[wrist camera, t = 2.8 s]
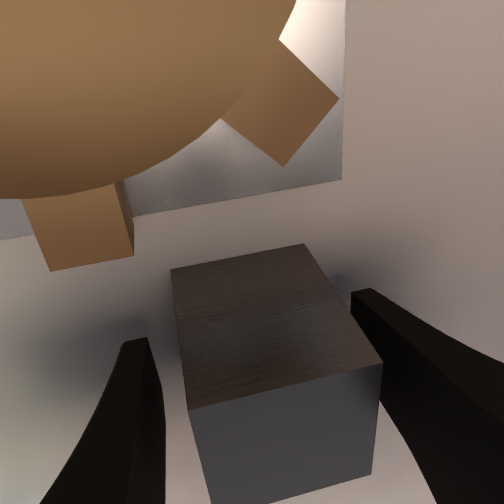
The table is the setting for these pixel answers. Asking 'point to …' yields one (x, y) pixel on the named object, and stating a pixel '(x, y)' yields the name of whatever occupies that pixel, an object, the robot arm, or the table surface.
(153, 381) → the robot arm
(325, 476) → the dark grey block
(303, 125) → the sprocket
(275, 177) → the thin square base plate
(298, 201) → the table surface
